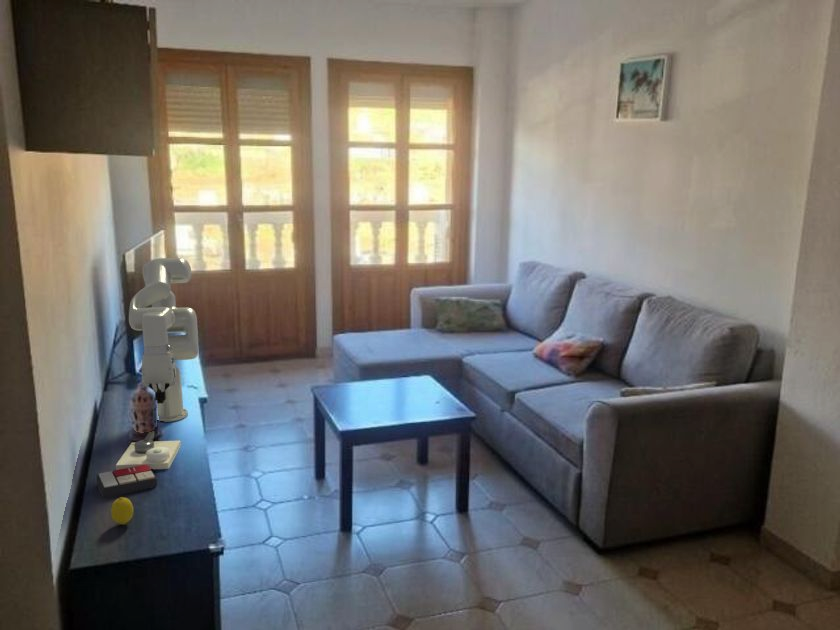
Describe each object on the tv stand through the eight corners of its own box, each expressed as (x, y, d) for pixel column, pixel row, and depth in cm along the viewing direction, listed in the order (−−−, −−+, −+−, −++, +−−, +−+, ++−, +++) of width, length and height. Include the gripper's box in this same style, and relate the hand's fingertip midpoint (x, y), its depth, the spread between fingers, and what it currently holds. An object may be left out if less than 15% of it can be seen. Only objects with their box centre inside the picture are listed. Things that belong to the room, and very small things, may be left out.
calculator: (157, 476, 208) (102, 486, 200) (157, 489, 209) (103, 500, 201) (148, 462, 217) (96, 471, 209) (148, 475, 218) (96, 485, 210)
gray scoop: (143, 438, 239) (142, 431, 238) (161, 437, 240) (161, 430, 239) (132, 454, 226) (132, 446, 226) (151, 453, 227) (151, 446, 226)
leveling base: (132, 447, 236) (131, 435, 235) (180, 445, 238) (180, 433, 237) (116, 471, 219) (114, 457, 218) (168, 468, 220) (167, 455, 219)
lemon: (108, 529, 185) (105, 502, 183) (118, 518, 190) (115, 492, 188) (128, 530, 184) (126, 502, 183) (138, 519, 190) (135, 492, 188)
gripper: (182, 345, 232) (186, 397, 237) (136, 347, 231) (140, 399, 235) (177, 352, 225) (181, 405, 229) (129, 353, 223) (134, 407, 228)
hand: (161, 402), depth 232 cm, fingers closed
